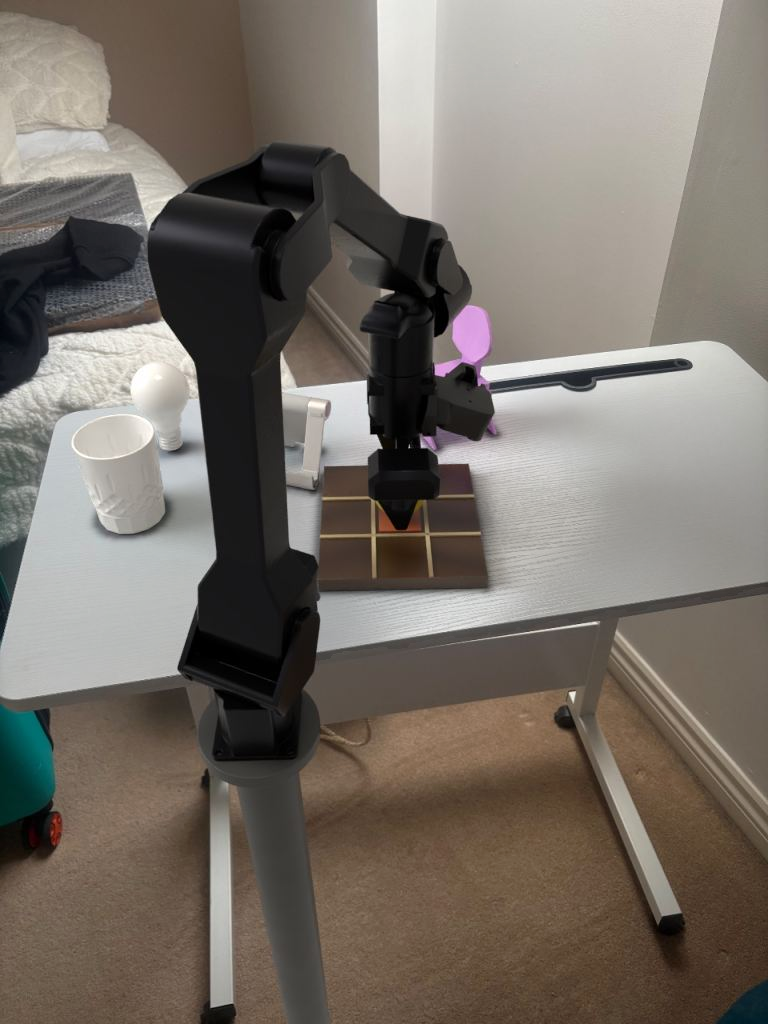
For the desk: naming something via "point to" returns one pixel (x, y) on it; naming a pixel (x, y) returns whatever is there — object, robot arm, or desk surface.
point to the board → (399, 536)
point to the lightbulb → (162, 400)
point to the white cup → (121, 471)
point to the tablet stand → (305, 435)
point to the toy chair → (470, 347)
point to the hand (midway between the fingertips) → (399, 499)
